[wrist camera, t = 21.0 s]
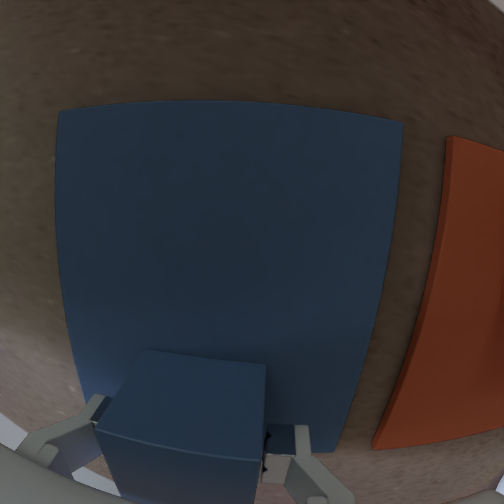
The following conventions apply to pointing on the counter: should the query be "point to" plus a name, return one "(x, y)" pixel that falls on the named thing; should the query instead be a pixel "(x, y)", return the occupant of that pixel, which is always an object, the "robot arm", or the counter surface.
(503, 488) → the pump dispenser
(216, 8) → the counter surface
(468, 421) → the terracotta mat
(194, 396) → the slate block
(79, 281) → the blue mat
